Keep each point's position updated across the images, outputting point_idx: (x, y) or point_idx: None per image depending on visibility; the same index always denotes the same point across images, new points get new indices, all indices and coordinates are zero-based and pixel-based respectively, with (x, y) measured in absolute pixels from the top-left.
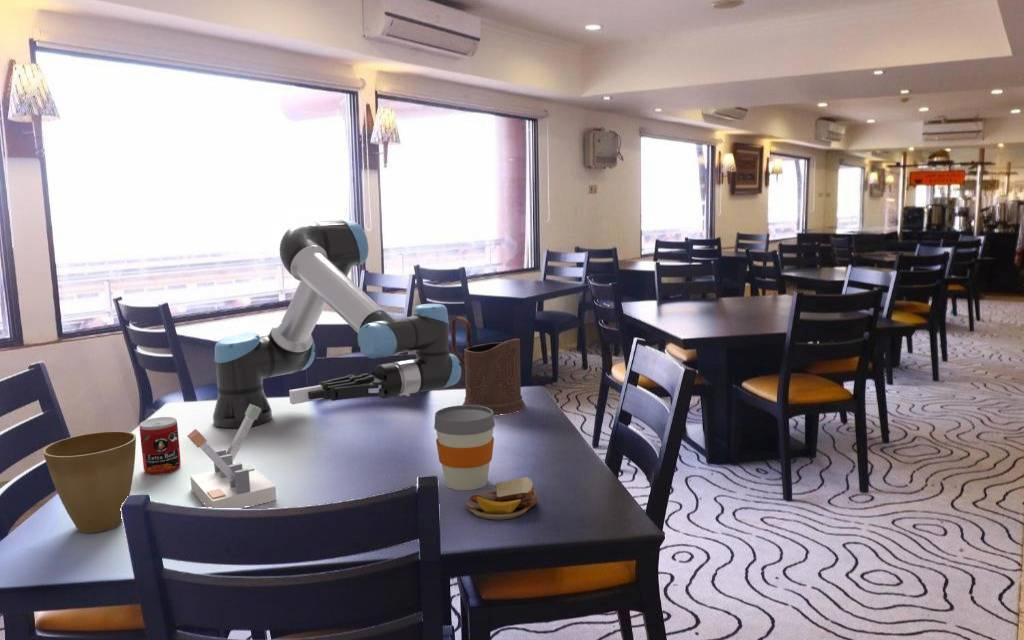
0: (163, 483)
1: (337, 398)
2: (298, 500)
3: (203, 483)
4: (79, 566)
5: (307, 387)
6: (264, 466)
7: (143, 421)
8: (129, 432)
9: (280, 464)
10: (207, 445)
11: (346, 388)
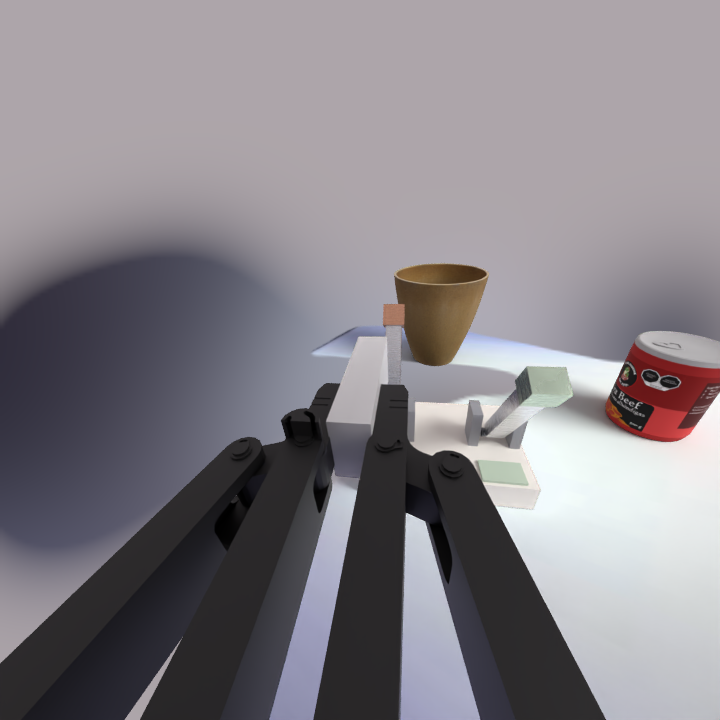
0: (552, 408)
1: (231, 505)
2: (328, 521)
3: (454, 408)
4: (355, 343)
5: (370, 375)
6: (614, 571)
7: (692, 335)
8: (462, 283)
9: (626, 623)
10: (386, 333)
11: (149, 528)
